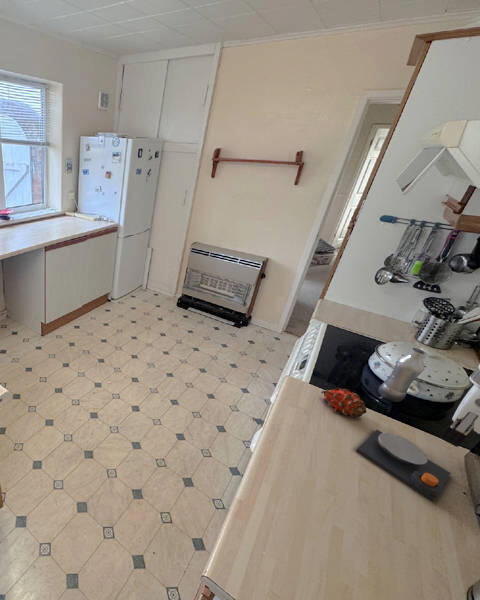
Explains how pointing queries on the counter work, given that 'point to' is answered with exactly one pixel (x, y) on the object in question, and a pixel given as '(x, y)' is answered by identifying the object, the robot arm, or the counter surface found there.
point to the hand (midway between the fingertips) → (449, 441)
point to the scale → (404, 468)
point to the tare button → (429, 479)
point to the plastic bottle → (403, 375)
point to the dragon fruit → (345, 402)
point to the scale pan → (402, 449)
